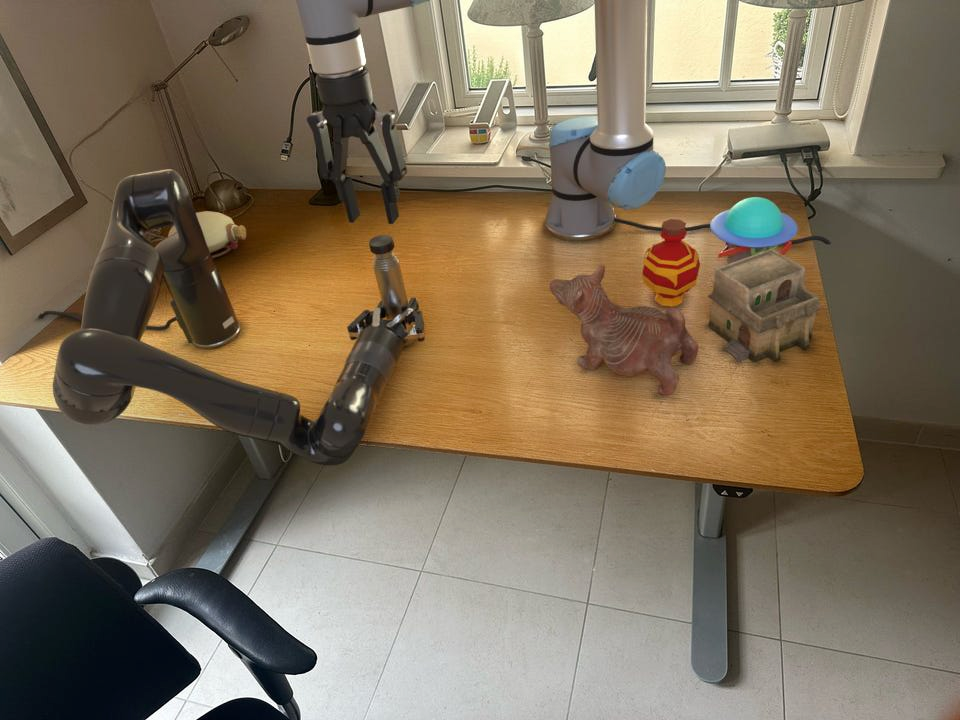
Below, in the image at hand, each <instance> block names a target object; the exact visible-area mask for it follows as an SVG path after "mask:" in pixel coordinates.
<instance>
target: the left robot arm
mask: <svg viewBox="0 0 960 720" xmlns="http://www.w3.org/2000/svg"><path fill="white" fill-rule="evenodd" d="M113 196H114V197H113V200H112V208H111V212H110V218H109V221H108V222H109V223H108V227H107V230H106V233H105V236H104V238H103V239H104V240H103V242H102V245H101V248H100V250H99V252H98V254H97V257H96V258H95V261H94V265H93V267H92V270H91V272H90V276H89V279H88V284H87V288H86V292H85V298H84V304H83V309H82V317H81V316H78V315H76V314H74V313H70V312H65V311H57V310H45V311H43V312H44V313H43V314H41V313H40V314H39V315H38V320H39V319H43V318H44V316H47V315H53V316H61V317H62V316H63V317H69V318H72V319H75V320H77V321H80V322H81V327H80V329H78V330H75V331H73V332H71V333H69V334H68V335H67V336H66V337H65V338H63V340H62V341H61V343H60V345H59V348H58V351H57V356H56V361H55V366H54V373H53V379H52V380H53V382H52V395H53V399H54V402H55V404H56V406H57V408H58V410H59V411H60V412H61V413H62V414H63V415H64V416H65V417H66V418H67V419H69V420H70V421H72V422H74V423H76V424H80V425H84V426H97V425H98V426H99V425H102V424H106V423H109V422H111V421H112V420H115V419H116V418H117V417H119V416H120V415H122V414H123V413H124V412H125V411H126V410H127V408H128V407H129V405H130V404H131V402H132V400H133V398H134V394H135V390H136V387H137V388H142V389H147V390H151V391H155V392H157V393H162V394H163V395H166V396H168V397H171V398H173V399H174V400H176V401H179V402H180V403H182V404H184V405H185V406H187V407H188V408H190V409H191V410H193V411H194V412H195V413H197V414H198V415H199V416H201V417H202V418H204V419H205V420H206V421H208V422H210V423H211V424H212V425H214V426H216V427H217V428H220V429H221V430H224V431H226V432H229V433H231V434H234V435H237V436H241V437H245V438H248V439H249V438H250V439H254V440H258V441H262V442H266V443H273V444H275V445H278V446H280V447H281V448H282V449H285V450H287V451H288V452H290V453H292V454H294V455H296V456H298V457H301V458H303V459H305V460H307V461H309V462H311V463H313V464H317V465H321V466H338V465H342V464H344V463H345V462H347V461H348V460H349V459H350V458H351V456H352V455H353V454H354V453H355V450H356V449H357V448H358V446H359V444H360V443H361V441H362V440H363V438H364V437H365V435H366V433H367V431H368V429H369V427H370V425H371V422H372V419H373V416H374V412H375V409H376V406H377V404H378V402H379V400H380V397H381V395H382V392H383V391H384V389H385V387H386V385H387V384H388V382H389V381H390V380H391V376H392V375H393V373H394V371H395V368H396V366H397V364H398V361H399V359H400V357H401V356H402V355H401V354H402V352H403V348H404V347H405V346H404V344H406V343H407V342H408V341H409V339H415V340H416V339H417V342H419V343H423V342H424V341H425V340H426V335H425V334H426V333H425V322H424V318H423V312H422V310H420V306H419V301H418V299H417V297H410V299H409V301H408V305H407V307H406V311H405V312H404V313H403V314H399V315H398V316H397V317H396V318H395V319H394V320H386V316H385V312H384V308H383V304H382V300H381V299H380V300H379V302H378V304H377V306H376V307H375V308H373V310H371V311H370V309H364V310H363V311H362V312H361V313H360V314H359V315H358V316H357V317H356V318H355V319H354V320H352V321H351V322H350V323H349V325H347V327H346V329H347V332H348V336H349V339H350V341H355V340H356V341H355V343H354V344H353V346H352V348H351V349H350V351H349V353H348V355H347V358H346V360H345V362H344V365H343V368H342V370H341V371H340V373H339V376H338V378H337V379H336V382H335V384H334V386H333V389H332V391H331V393H330V395H329V397H327V400H326V402H325V403H324V405H323V407H322V409H321V410H320V412H319V414H318V415H317V416H316V419H315V420H314V419H311V418H308V417H307V416H305V415H304V414H301V403H300V401H299V399H298V398H297V397H295V396H294V395H291V394H288V393H285V392H281V391H277V390H273V389H270V388H265V387H261V386H259V385H254V384H250V383H247V382H243V381H240V380H236V379H233V378H230V377H227V376H224V375H222V374H219V373H217V372H214V371H211V370H209V369H207V368H205V367H202V366H200V365H197V364H195V363H193V362H190V361H188V360H187V359H183V358H181V357H179V356H177V355H174V354H172V353H170V352H167V351H165V350H163V349H160V348H157V347H155V346H154V345H150V344H148V343H146V342H143V341H142V338H143V336H144V334H145V331H146V330H149V331H165V330H168V329H169V328H170V326H171V324H173V323H174V322H177V324H178V327H179V328H180V329H181V330H182V332H183V334H184V336H185V338H186V340H187V343H188V344H190V345H191V344H192V345H193V346H194V347H196V348H198V349H201V350H211V349H216V348H220V347H222V346H226V345H227V344H229V343H231V342H232V341H234V340H235V339H236V338H237V337H238V336H239V335H240V334H241V331H242V326H241V323H240V321H239V320H238V319H239V318H238V317H237V314H236V312H235V309H234V307H233V305H232V303H231V300H230V297H229V295H228V293H227V292H228V291H227V290H226V288H225V286H224V283H223V280H222V277H221V276H220V273H219V271H218V268H217V266H216V263H215V260H214V258H212V253H210V251H209V249H208V246H207V244H206V241H205V237H204V234H203V231H202V228H201V226H200V223H199V221H198V218H197V215H196V213H197V212H196V210H195V207H194V204H193V201H192V198H191V194H190V192H189V189H188V187H187V184H186V183H185V180H184V179H183V177H182V175H181V174H180V173H179V172H178V171H176V170H175V169H171V168H170V169H169V168H167V169H160V170H154V171H149V172H142V173H138V174H132V175H131V174H130V175H128V176H126V177H124V178H122V179H121V180H120V181H119V182H118V184H117V186H116V188H115V192H114V195H113ZM173 226H175V228H176V231H177V232H175V233H174V234H173V235H171V236H169V237H168V236H167V237H166V238H164V239H162V240H161V241H160V242H159V243H157V245H156V246H154V245H153V244H152V243H151V242H150V241H149V240H148V239H147V238H146V237H145V236H144V234H145V233H146V232H148V231H151V230H156V229H161V228H162V229H163V228H168V227H173ZM163 281H164V283H165V286H166V287H167V290H168V292H169V294H170V296H171V298H172V299H171V300H170V303H169V304H170V307H171V308H172V311H173V313H174V315H175V316H174V317H172V318H170V319H168V320H167V321H166V323H165V325H161V326H153V325H152V326H151V325H148V324H149V322H150V320H151V317H152V315H153V312H154V309H155V306H156V303H157V300H158V298H159V294H160V292H161V288H162V283H163ZM407 319H408V320H407ZM412 324H413V328H412V329H411V331H409V328H410V326H411V325H412ZM408 331H409V332H408Z"/></svg>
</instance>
